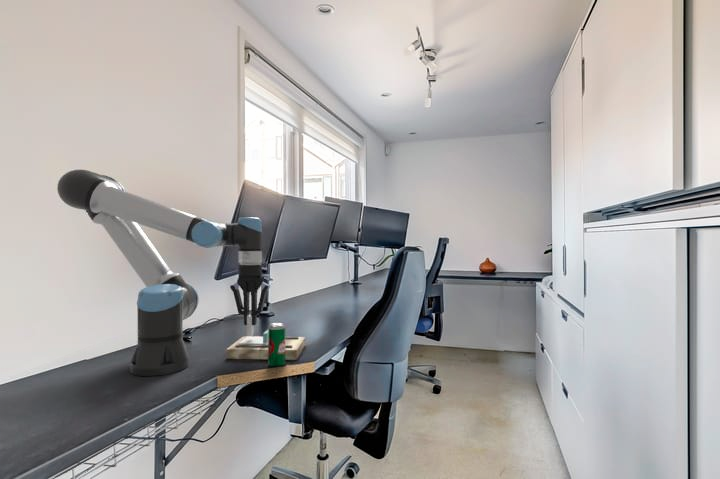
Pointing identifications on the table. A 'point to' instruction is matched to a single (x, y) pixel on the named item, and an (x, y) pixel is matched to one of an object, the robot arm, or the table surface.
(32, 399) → the table surface
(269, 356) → the soda can
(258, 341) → the shutter
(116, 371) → the table surface
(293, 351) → the socket board
